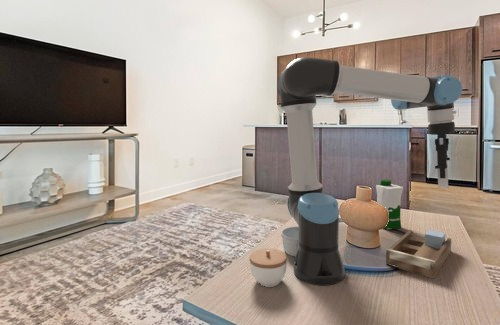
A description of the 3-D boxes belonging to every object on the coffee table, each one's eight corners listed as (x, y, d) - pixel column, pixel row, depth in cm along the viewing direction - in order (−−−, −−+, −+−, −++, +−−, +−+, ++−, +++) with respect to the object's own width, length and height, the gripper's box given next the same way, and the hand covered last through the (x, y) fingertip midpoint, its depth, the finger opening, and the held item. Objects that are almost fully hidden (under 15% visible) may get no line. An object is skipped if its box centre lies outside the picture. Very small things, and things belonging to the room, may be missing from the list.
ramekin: (319, 245, 107) (319, 227, 106) (318, 261, 94) (318, 240, 93) (284, 242, 110) (284, 225, 109) (278, 257, 98) (278, 238, 97)
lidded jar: (284, 271, 88) (283, 242, 87) (290, 290, 77) (289, 258, 76) (249, 273, 88) (248, 244, 86) (251, 292, 77) (250, 260, 76)
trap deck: (386, 264, 90) (386, 249, 89) (409, 241, 107) (409, 228, 106) (433, 278, 81) (434, 262, 80) (450, 251, 98) (451, 237, 97)
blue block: (424, 245, 97) (424, 234, 97) (428, 240, 101) (428, 230, 100) (441, 249, 94) (442, 237, 93) (444, 244, 97) (445, 233, 97)
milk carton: (389, 222, 129) (390, 178, 126) (404, 228, 120) (406, 182, 118) (372, 224, 126) (373, 180, 124) (387, 231, 118) (388, 184, 115)
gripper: (454, 123, 85) (457, 192, 87) (454, 119, 105) (456, 175, 107) (425, 125, 89) (428, 191, 92) (430, 121, 109) (432, 175, 112)
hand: (443, 182), depth 99 cm, fingers open, 13 cm apart
